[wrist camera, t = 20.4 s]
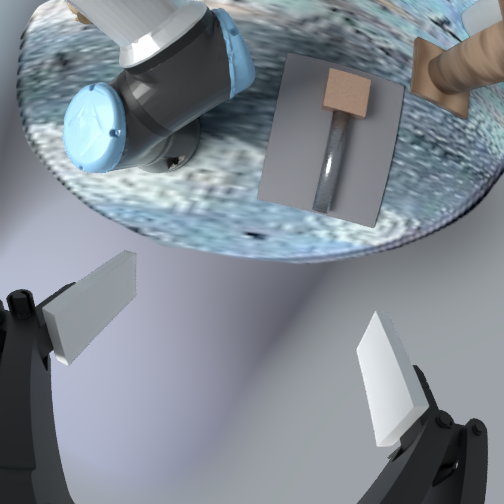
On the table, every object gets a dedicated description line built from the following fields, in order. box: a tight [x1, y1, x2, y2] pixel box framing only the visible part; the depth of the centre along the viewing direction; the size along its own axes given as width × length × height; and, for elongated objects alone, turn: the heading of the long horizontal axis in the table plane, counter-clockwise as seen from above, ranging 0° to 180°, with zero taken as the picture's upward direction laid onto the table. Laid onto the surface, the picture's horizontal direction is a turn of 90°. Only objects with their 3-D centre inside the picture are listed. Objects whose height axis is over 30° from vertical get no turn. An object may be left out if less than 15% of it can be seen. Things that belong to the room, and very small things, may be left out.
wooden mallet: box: [312, 68, 371, 214], centre depth 41 cm, size 24×7×4 cm, turn 169°
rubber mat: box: [257, 53, 404, 228], centre depth 43 cm, size 22×28×1 cm
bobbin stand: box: [410, 0, 504, 119], centre depth 20 cm, size 13×13×30 cm
